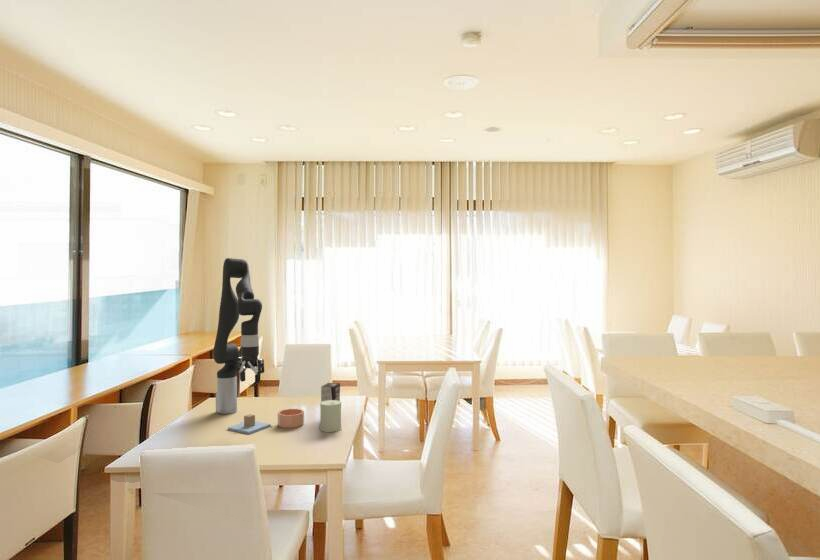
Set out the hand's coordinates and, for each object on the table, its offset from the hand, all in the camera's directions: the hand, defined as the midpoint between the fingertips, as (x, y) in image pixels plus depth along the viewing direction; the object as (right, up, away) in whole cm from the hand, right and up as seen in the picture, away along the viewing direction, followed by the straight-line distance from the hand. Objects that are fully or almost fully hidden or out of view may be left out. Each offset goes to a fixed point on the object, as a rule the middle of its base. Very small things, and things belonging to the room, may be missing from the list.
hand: (250, 382), depth 224 cm
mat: (0, -20, 0) cm, 20 cm away
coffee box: (+33, -21, +15) cm, 42 cm away
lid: (0, -20, 0) cm, 20 cm away
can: (+35, -21, +1) cm, 41 cm away
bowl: (+17, -20, +5) cm, 27 cm away
